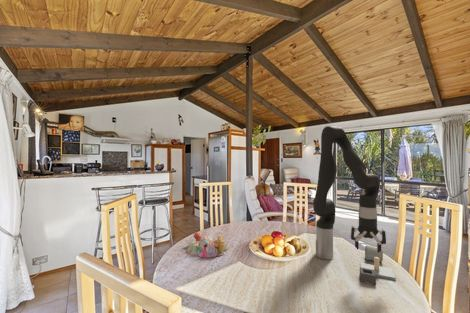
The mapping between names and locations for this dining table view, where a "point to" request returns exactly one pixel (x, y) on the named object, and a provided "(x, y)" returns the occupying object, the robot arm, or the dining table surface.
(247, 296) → the dining table surface
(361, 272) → the grey block
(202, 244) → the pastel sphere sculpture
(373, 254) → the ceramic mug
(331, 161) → the robot arm
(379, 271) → the peg board
